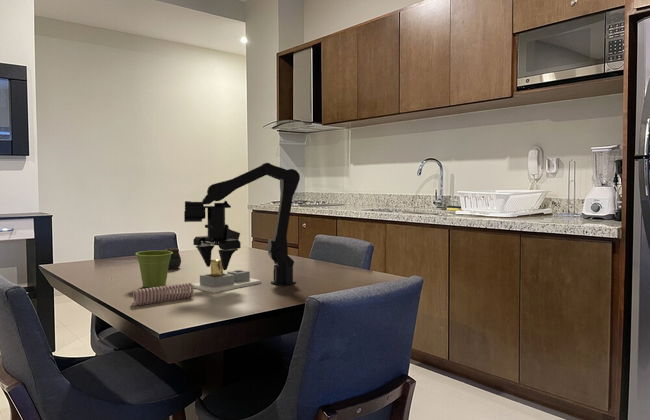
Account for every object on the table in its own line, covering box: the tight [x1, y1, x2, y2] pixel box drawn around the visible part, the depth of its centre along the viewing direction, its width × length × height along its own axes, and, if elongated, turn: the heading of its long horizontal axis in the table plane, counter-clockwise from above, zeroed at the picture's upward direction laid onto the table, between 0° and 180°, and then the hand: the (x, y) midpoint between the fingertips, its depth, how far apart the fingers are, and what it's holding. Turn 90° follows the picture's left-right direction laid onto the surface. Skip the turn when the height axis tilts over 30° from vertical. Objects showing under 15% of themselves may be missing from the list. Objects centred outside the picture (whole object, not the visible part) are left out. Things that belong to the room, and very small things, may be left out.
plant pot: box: [135, 249, 173, 289], centre depth 164 cm, size 12×12×11 cm
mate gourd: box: [164, 245, 182, 270], centre depth 198 cm, size 7×8×10 cm
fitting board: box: [192, 269, 262, 294], centre depth 165 cm, size 12×20×4 cm, turn 138°
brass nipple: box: [210, 258, 224, 277], centre depth 162 cm, size 4×4×8 cm
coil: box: [131, 282, 195, 307], centre depth 143 cm, size 5×5×18 cm
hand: (216, 268), depth 162 cm, fingers open, 9 cm apart
